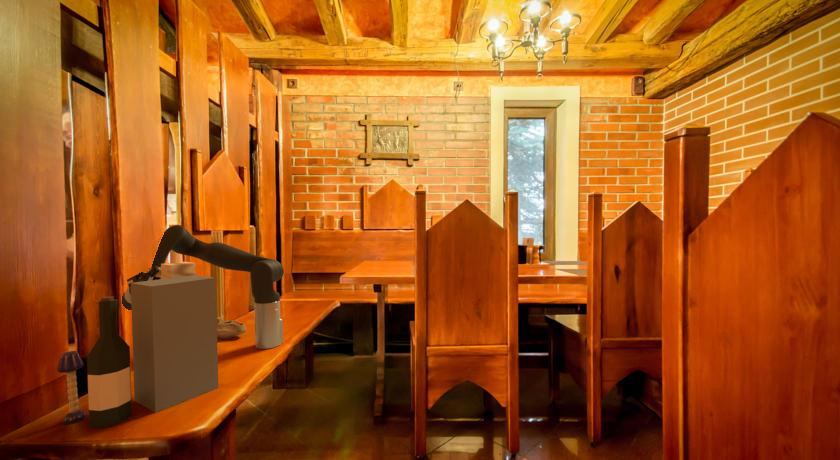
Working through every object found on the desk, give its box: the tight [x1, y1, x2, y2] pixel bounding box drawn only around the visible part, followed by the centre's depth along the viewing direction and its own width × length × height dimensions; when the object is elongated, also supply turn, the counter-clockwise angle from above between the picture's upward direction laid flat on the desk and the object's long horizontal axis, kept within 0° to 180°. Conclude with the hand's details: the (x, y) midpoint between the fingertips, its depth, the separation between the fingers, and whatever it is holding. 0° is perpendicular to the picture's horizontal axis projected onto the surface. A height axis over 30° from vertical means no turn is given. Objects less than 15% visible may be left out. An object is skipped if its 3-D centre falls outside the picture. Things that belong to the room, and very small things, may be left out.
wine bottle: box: [86, 295, 133, 429], centre depth 89 cm, size 8×8×30 cm
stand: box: [131, 274, 219, 413], centre depth 102 cm, size 16×12×32 cm
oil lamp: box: [217, 316, 248, 339], centre depth 155 cm, size 11×15×8 cm
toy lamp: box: [56, 350, 87, 425], centre depth 89 cm, size 5×5×17 cm
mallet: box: [149, 261, 197, 279], centre depth 116 cm, size 7×19×5 cm, turn 59°
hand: (162, 268), depth 118 cm, fingers closed on mallet, 2 cm apart
